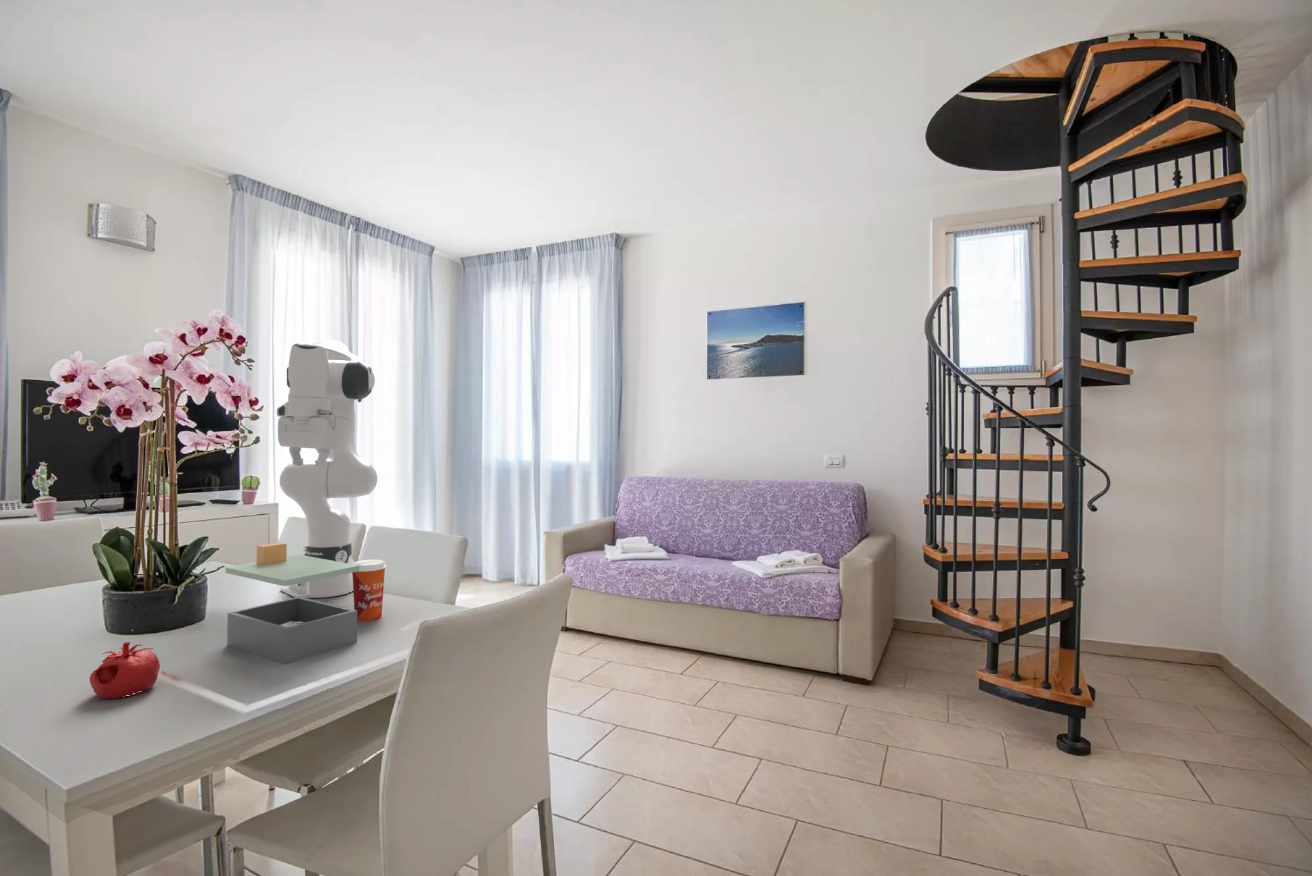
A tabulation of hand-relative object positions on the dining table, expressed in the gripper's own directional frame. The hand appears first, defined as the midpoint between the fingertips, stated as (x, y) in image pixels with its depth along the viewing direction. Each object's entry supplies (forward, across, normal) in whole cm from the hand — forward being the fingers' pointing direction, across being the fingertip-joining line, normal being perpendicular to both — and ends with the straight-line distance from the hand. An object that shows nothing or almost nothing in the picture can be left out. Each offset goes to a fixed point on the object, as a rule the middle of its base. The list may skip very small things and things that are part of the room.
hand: (309, 466), depth 151 cm
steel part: (+38, -6, +8) cm, 40 cm away
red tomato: (+39, -8, +39) cm, 56 cm away
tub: (+39, -10, +10) cm, 42 cm away
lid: (+22, -10, +10) cm, 26 cm away
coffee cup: (+40, -7, -11) cm, 42 cm away
